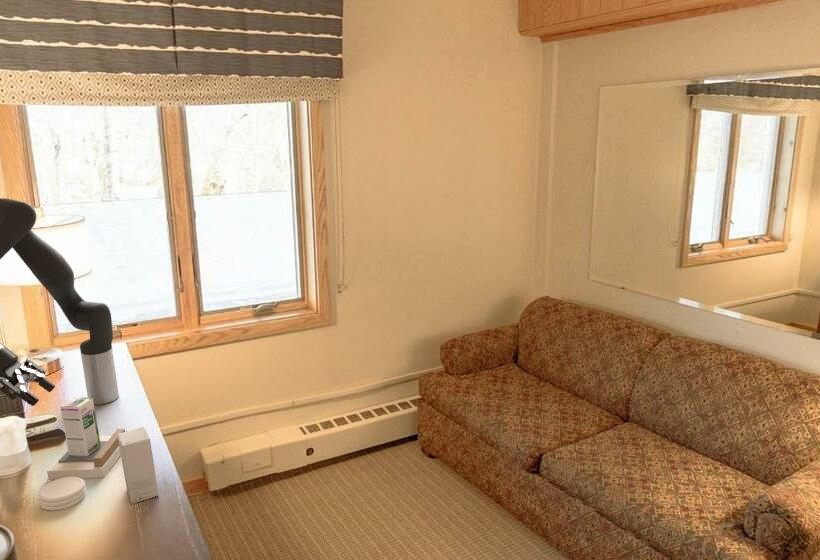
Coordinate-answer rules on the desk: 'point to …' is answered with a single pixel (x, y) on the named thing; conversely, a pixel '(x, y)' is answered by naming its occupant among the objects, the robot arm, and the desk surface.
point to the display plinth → (88, 461)
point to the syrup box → (80, 426)
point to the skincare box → (138, 464)
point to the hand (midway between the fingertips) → (44, 396)
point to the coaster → (62, 493)
